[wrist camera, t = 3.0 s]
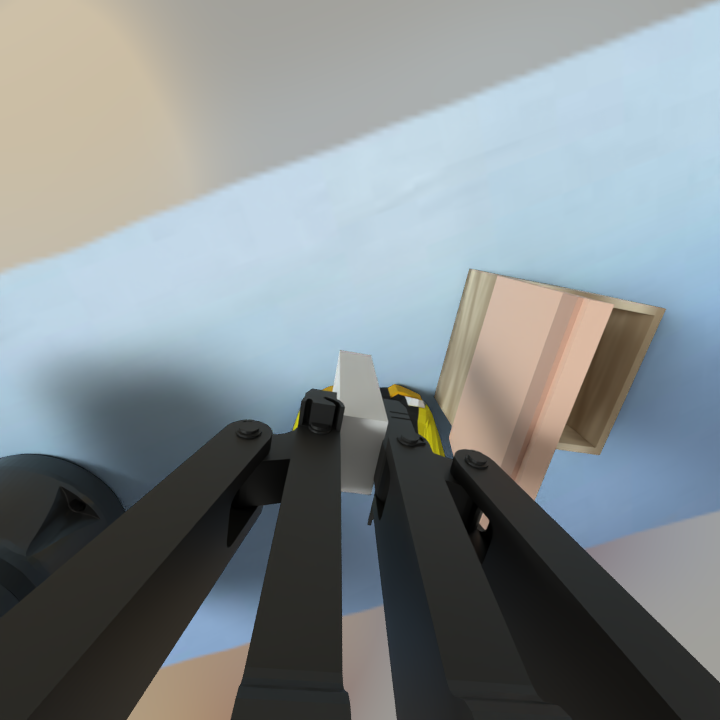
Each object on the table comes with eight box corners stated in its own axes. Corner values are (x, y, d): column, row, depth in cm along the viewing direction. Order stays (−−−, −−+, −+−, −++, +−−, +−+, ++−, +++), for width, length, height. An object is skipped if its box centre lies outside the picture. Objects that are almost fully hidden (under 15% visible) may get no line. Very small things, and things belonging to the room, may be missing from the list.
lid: (459, 440, 27) (446, 437, 27) (509, 278, 23) (494, 274, 23) (502, 579, 16) (479, 573, 16) (614, 304, 12) (583, 298, 12)
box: (434, 397, 34) (457, 435, 28) (469, 268, 31) (506, 277, 24) (550, 414, 36) (599, 455, 29) (597, 294, 32) (665, 308, 25)
